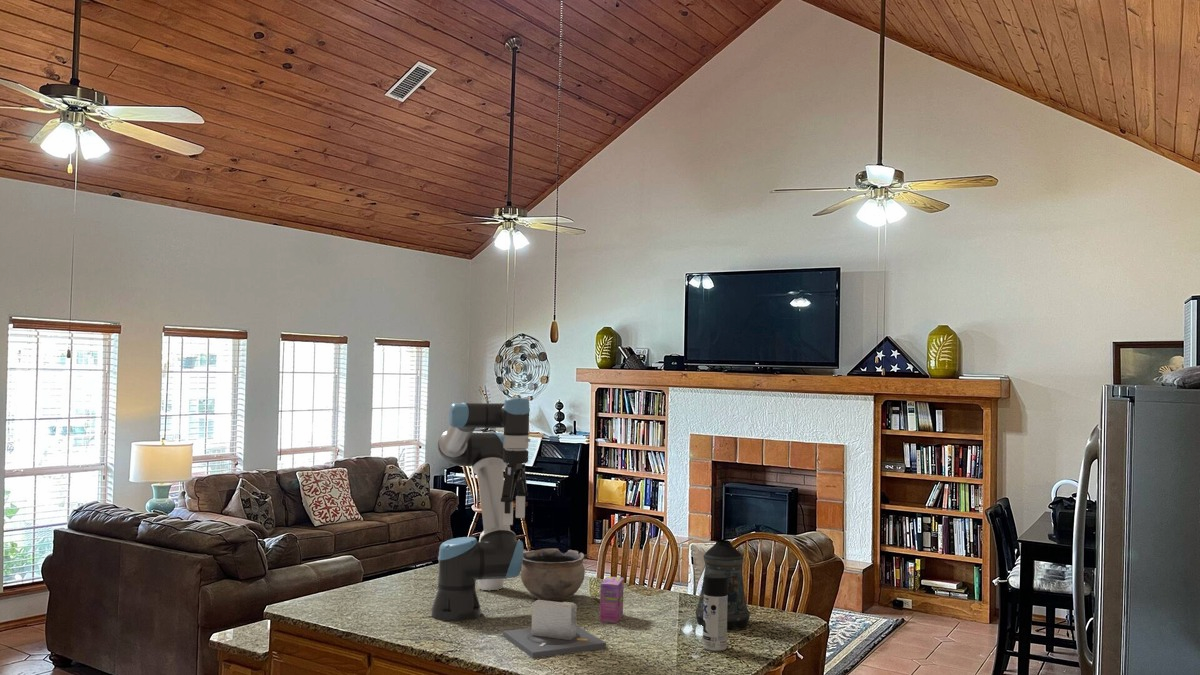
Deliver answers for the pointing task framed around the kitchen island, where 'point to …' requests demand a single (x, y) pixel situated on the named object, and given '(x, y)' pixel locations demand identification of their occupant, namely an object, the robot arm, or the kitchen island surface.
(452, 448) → the robot arm
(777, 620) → the kitchen island surface
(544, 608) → the dial handle
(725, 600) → the spray can
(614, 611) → the box
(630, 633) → the kitchen island surface
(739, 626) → the beer stein
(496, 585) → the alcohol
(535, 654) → the dial plate
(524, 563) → the ceramic bowl
